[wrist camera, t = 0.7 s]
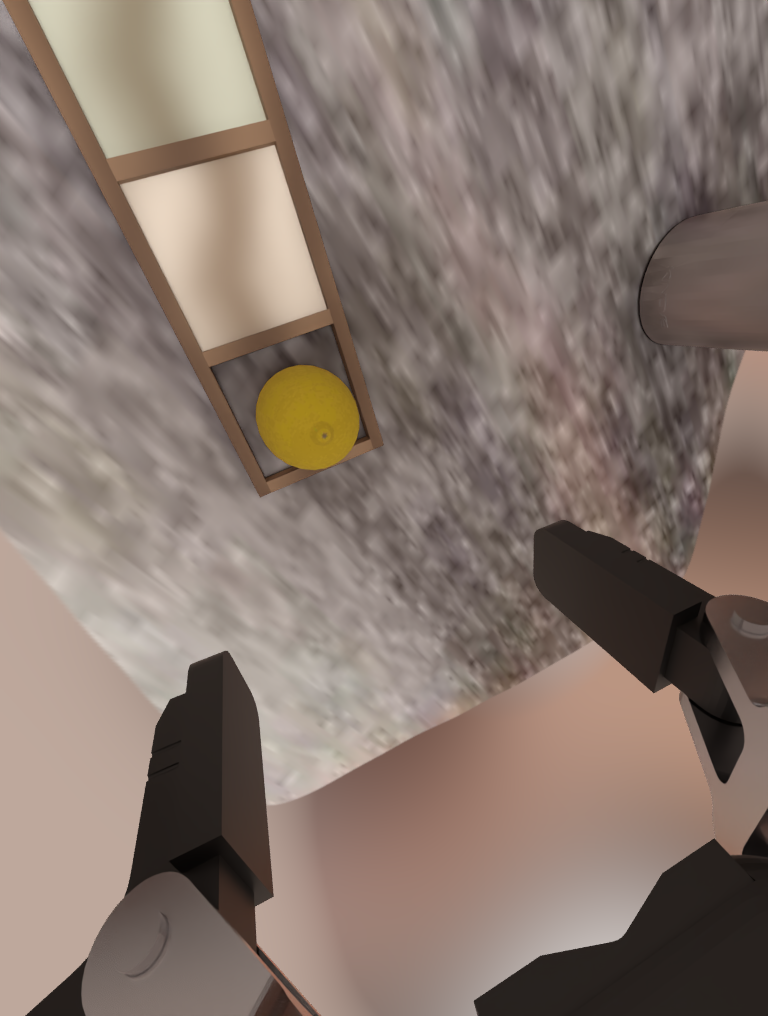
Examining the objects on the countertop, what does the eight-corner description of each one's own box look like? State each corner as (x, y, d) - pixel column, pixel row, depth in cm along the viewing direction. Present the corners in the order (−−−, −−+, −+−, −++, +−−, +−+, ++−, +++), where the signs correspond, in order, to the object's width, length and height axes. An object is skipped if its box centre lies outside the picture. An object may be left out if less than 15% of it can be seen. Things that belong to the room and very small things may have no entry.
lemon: (305, 461, 27) (334, 509, 20) (232, 413, 24) (238, 449, 17) (354, 396, 26) (400, 423, 20) (285, 338, 24) (312, 346, 17)
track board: (195, -163, 15) (194, -185, 15) (379, 441, 29) (383, 445, 28) (-65, -136, 14) (-80, -160, 13) (259, 492, 27) (260, 497, 26)
